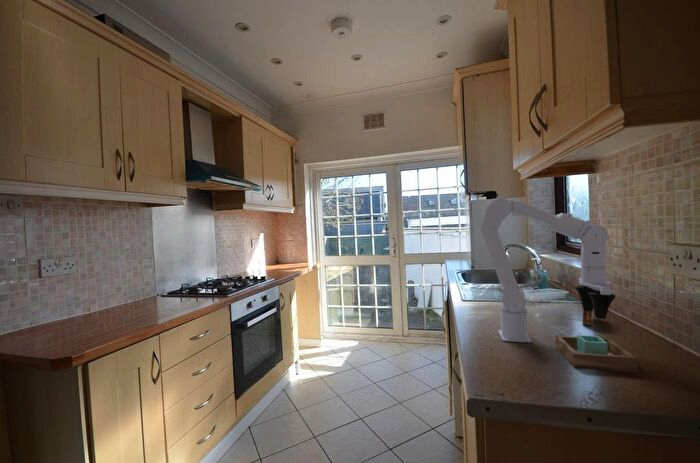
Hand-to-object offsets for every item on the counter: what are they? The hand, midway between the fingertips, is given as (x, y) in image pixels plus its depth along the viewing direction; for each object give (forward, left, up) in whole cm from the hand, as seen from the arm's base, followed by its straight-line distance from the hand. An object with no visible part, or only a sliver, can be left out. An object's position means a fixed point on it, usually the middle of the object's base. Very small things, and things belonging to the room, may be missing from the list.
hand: (594, 314), depth 92 cm
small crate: (+9, -4, -9) cm, 13 cm away
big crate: (+9, -4, -9) cm, 14 cm away
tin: (-24, +8, -10) cm, 27 cm away
